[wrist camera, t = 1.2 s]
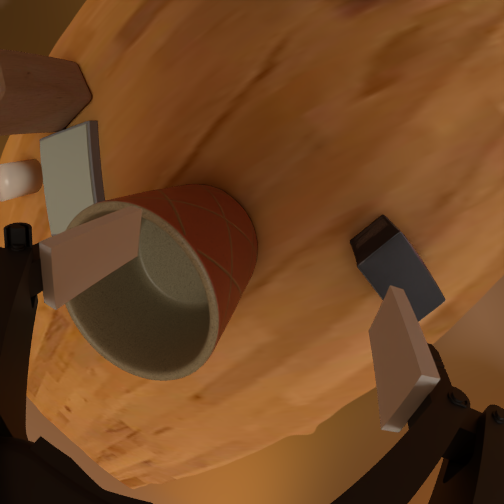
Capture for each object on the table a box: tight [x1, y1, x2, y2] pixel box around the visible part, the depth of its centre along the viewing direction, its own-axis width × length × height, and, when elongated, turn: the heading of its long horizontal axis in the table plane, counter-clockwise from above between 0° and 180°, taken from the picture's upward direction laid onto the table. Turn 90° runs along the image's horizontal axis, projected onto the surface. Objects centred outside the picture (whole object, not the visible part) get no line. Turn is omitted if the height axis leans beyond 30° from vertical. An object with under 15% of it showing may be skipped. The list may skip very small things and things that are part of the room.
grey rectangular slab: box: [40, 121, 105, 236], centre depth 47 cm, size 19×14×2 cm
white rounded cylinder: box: [0, 159, 43, 201], centre depth 46 cm, size 7×7×9 cm
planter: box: [65, 184, 258, 381], centre depth 37 cm, size 19×19×20 cm
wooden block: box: [0, 49, 91, 135], centre depth 34 cm, size 10×10×20 cm
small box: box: [350, 215, 445, 321], centre depth 35 cm, size 11×6×10 cm, turn 43°
